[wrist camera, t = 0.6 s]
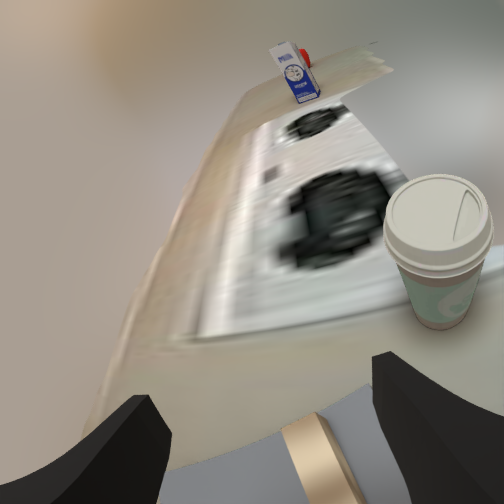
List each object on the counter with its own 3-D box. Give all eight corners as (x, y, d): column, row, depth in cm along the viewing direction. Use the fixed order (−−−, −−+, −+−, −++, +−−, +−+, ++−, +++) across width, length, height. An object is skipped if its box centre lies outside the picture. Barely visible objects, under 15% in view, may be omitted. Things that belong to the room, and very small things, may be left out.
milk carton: (298, 104, 81) (267, 49, 69) (301, 97, 85) (272, 46, 73) (319, 96, 77) (288, 40, 66) (321, 90, 81) (292, 37, 70)
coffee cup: (430, 362, 20) (430, 284, 13) (385, 298, 27) (355, 209, 20) (497, 306, 19) (518, 207, 12) (446, 253, 26) (436, 156, 19)
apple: (300, 73, 113) (289, 53, 107) (295, 72, 120) (284, 54, 114) (316, 66, 112) (306, 46, 105) (310, 65, 119) (300, 47, 112)
